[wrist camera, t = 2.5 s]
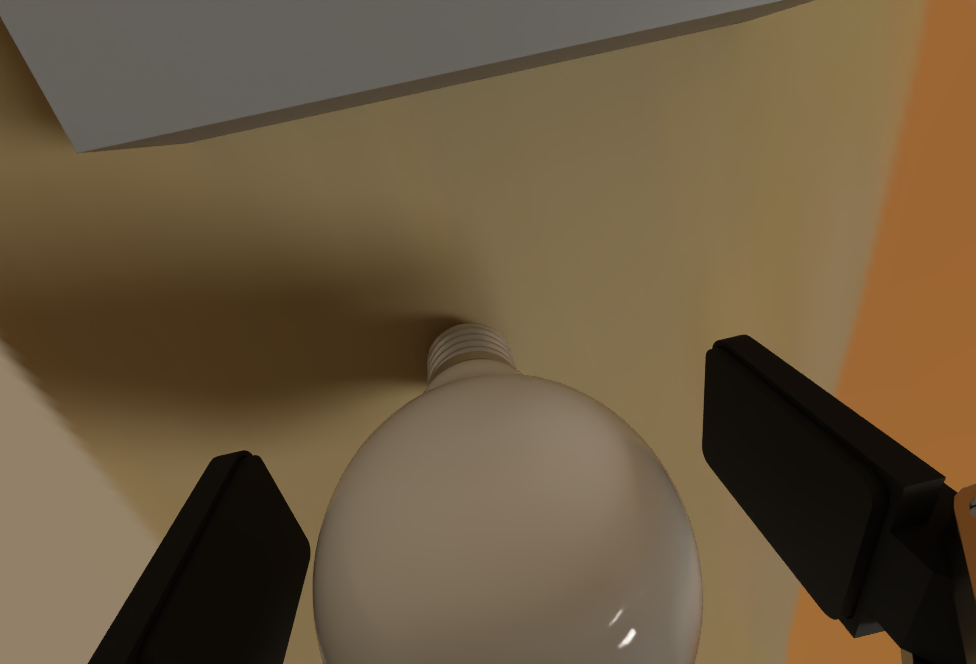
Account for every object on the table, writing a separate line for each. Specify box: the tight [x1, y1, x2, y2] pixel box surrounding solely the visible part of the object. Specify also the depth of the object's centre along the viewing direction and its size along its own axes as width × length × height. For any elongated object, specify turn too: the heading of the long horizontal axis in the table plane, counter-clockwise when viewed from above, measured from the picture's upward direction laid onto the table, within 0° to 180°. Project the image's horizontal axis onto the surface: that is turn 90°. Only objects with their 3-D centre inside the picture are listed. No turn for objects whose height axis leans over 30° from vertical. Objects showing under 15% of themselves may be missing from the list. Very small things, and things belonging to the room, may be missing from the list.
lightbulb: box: [313, 323, 703, 664], centre depth 10 cm, size 6×6×11 cm
